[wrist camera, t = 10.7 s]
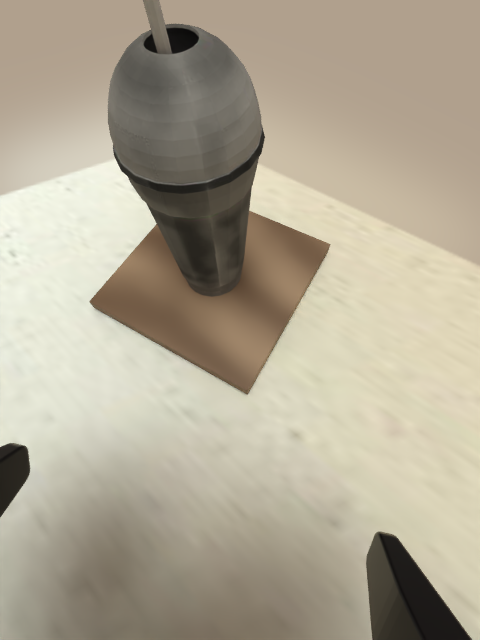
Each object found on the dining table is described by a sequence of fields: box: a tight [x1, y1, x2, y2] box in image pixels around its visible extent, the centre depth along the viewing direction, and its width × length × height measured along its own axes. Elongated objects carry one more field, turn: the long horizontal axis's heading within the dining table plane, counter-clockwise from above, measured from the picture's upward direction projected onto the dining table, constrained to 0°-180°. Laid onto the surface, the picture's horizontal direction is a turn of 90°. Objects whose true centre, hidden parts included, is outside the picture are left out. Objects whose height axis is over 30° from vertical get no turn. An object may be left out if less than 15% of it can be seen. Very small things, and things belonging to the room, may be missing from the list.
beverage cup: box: [108, 0, 265, 297], centre depth 17 cm, size 7×7×20 cm
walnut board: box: [90, 211, 330, 394], centre depth 27 cm, size 14×14×1 cm
